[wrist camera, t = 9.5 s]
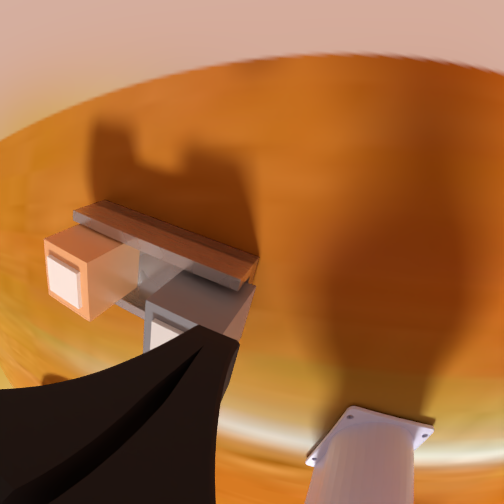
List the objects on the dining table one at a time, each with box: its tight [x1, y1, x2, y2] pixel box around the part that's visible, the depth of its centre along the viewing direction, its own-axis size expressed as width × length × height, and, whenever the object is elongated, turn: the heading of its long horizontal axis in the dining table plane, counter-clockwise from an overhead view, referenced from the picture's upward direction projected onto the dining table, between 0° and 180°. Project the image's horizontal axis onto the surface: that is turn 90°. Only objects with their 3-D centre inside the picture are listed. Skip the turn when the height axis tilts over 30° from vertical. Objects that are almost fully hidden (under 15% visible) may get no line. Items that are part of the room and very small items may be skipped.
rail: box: [73, 200, 259, 320], centre depth 19 cm, size 6×12×3 cm, turn 75°
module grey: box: [143, 270, 256, 353], centre depth 17 cm, size 4×4×5 cm
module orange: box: [44, 224, 140, 322], centre depth 18 cm, size 4×4×5 cm
